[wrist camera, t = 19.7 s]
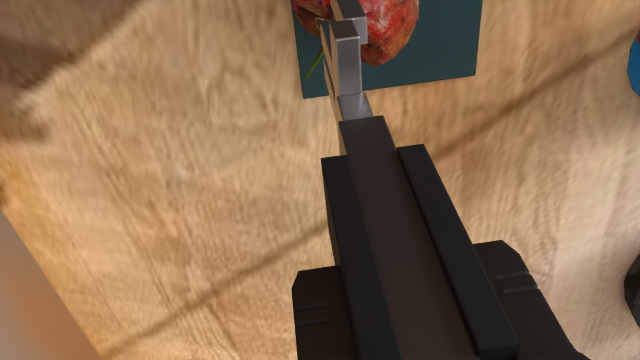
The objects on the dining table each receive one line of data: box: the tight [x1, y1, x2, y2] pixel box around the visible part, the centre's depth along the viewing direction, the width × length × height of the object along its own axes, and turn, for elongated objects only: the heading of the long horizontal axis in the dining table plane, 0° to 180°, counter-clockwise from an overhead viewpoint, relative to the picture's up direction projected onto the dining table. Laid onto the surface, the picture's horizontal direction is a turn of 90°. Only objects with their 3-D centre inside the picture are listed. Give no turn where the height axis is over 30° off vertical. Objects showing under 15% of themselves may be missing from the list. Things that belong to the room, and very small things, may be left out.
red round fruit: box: [293, 0, 419, 79], centre depth 30 cm, size 7×7×10 cm
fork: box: [320, 0, 480, 360], centre depth 15 cm, size 6×2×20 cm, turn 5°
